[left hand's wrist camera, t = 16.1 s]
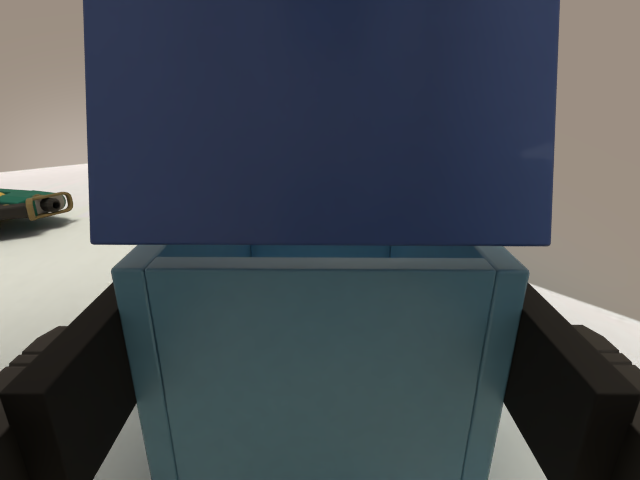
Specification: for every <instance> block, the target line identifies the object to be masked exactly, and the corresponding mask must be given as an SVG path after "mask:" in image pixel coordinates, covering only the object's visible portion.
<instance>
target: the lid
mask: <svg viewBox="0 0 640 480" xmlns="http://www.w3.org/2000/svg"><path fill="white" fill-rule="evenodd" d="M559 10H560V0H83V16H84V48H85V80H86V114H87V146H88V179H89V212H90V242H91V244H93V245H329V246H549V245H550V244H551V220H552V193H553V167H554V141H555V115H556V89H557V62H558V36H559Z"/></svg>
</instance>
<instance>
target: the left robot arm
mask: <svg viewBox="0 0 640 480" xmlns="http://www.w3.org/2000/svg"><path fill="white" fill-rule="evenodd" d="M136 403H137V401H136V396H135V390H134V385H133V380H132V375H131V370H130V365H129V360H128V355H127V350H126V345H125V340H124V335H123V330H122V325H121V320H120V314H119V309H118V305H117V300H116V294H115V289H114V284H113V283H112V284H111V285H110V286H109V287H108V288H107V289H105V290H104V291H103V292H102V293H101V294H100V295H99V296H98V297H97V298H96V299H95V300H94V301H93V302H92V303H91V304H90V305H89V306H88V307H87V308H86V309H85V310H84V311H83V312H82V313H81V314H80V315H79V316H78V317H77V318H76V319H75V320H74V321H73V322H72V323H71V324H70V325H69V326H58V327H56V328H55V329H53V330H51V331H49V332H47V333H46V334H44V335H42V336H40V337H38V338H37V339H36V340H35V341H34V342H33V343H31V344H30V345H29V346H28V347H27V348H26V349H25V350H24V351H23V352H22V355H18V356H17V357H16V358H15V359H14V360H13V361H12V362H11V363H9V367H5V368H4V369H3V370H2V371H1V372H0V480H93V478H94V477H95V475H96V473H97V471H98V470H99V468H100V466H101V464H102V463H103V461H104V459H105V457H106V456H107V454H108V452H109V450H110V449H111V447H112V445H113V443H114V442H115V440H116V438H117V436H118V435H119V433H120V431H121V429H122V428H123V426H124V424H125V422H126V420H127V419H128V417H129V415H130V413H131V412H132V410H133V408H134V406H135V405H136ZM504 404H505V406H506V407H507V409H508V411H509V413H510V414H511V416H512V418H513V420H514V421H515V423H516V425H517V427H518V428H519V430H520V432H521V434H522V435H523V437H524V439H525V441H526V442H527V444H528V446H529V448H530V450H531V451H532V453H533V455H534V457H535V458H536V460H537V462H538V464H539V465H540V467H541V469H542V471H543V472H544V474H545V476H546V478H547V479H548V480H640V369H639V368H638V367H637V366H636V365H632V362H631V361H630V360H629V359H628V358H627V357H626V356H624V355H623V354H622V353H619V350H618V349H617V348H616V347H615V346H613V345H612V344H611V343H610V342H609V341H608V340H607V339H606V338H605V337H603V336H602V335H600V334H598V333H596V332H594V331H592V330H591V329H589V328H587V327H585V326H583V325H571V324H570V323H569V322H568V321H567V320H566V319H565V318H564V317H563V316H562V315H561V314H560V313H559V312H558V311H557V310H556V309H555V308H554V307H552V306H551V305H550V304H549V303H548V302H547V301H546V300H545V299H544V298H543V297H542V296H541V295H540V294H539V293H538V292H537V291H536V290H535V289H534V288H533V287H532V286H531V285H530V284H529V283H527V288H526V293H525V298H524V303H523V308H522V313H521V318H520V323H519V328H518V333H517V338H516V342H515V347H514V352H513V357H512V362H511V367H510V372H509V377H508V382H507V387H506V392H505V397H504Z"/></svg>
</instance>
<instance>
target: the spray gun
mask: <svg viewBox="0 0 640 480" xmlns="http://www.w3.org/2000/svg"><path fill="white" fill-rule="evenodd" d="M63 195H65V196H66V198H67V202H68V207H67V208H66V209H64V210H61V209H63V208H64V206H65V204H66V200H65V197H64V196H63ZM72 208H73V201H72V197H71V195H70V194H69V193H67V192H59V193H51V192H42V191H34V190H32V191H27V190H12V189H0V220H4V219H17V218H27V217H29V219H30V221H33V220H37V219H39V218H44V217H48V216H52V215H56V214H60V213H65V212H68V211H70V210H71V209H72ZM59 210H60V211H59ZM48 212H51V213H48Z"/></svg>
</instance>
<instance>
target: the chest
mask: <svg viewBox="0 0 640 480" xmlns="http://www.w3.org/2000/svg"><path fill="white" fill-rule="evenodd" d="M111 274H112V279H113V284H114V289H115V294H116V300H117V305H118V309H119V314H120V320H121V325H122V330H123V335H124V340H125V345H126V350H127V355H128V360H129V365H130V370H131V375H132V380H133V385H134V390H135V396H136V401H137V407H138V413H139V418H140V423H141V428H142V433H143V438H144V443H145V449H146V454H147V459H148V464H149V469H150V474H151V479H152V480H488V476H489V471H490V466H491V461H492V456H493V451H494V446H495V441H496V436H497V431H498V426H499V422H500V417H501V412H502V407H503V402H504V397H505V392H506V387H507V382H508V377H509V372H510V367H511V362H512V357H513V352H514V347H515V342H516V338H517V333H518V328H519V323H520V318H521V313H522V308H523V303H524V298H525V293H526V288H527V283H528V278H529V270H528V269H527V268H526V267H525V266H523V265H522V264H521V263H520V262H519V261H518V260H517V259H516V258H515V257H514V256H513V255H512V254H511V253H510V252H509V251H507V250H506V249H505V248H504V247H503V246H329V245H137V246H136V247H135V248H134V249H133V250H132V251H131V252H129V253H128V254H127V255H126V256H125V257H124V258H123V259H122V260H121V261H120V262H119V263H117V264H116V265H115V266H114V267H113V268H112V270H111Z"/></svg>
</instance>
